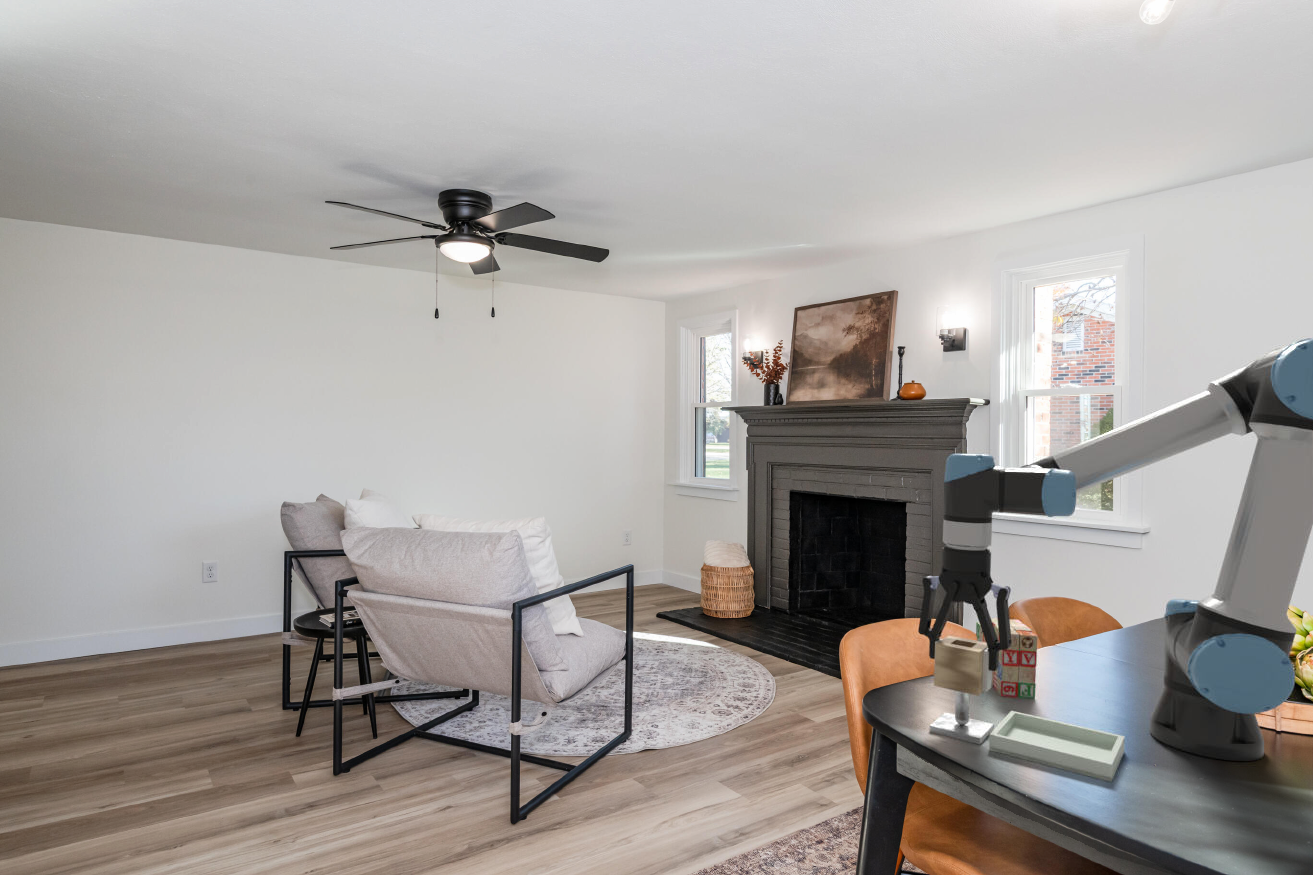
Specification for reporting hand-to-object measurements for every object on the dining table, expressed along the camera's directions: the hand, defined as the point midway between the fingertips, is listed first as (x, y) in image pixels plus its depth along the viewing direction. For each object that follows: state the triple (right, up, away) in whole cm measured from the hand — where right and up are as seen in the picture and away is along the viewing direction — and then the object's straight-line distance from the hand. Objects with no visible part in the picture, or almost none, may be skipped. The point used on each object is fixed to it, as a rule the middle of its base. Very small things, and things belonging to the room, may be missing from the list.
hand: (962, 683), depth 127 cm
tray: (+12, -8, -7) cm, 16 cm away
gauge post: (0, -8, 0) cm, 8 cm away
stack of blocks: (+19, -9, +28) cm, 35 cm away
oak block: (0, 0, 0) cm, 0 cm away
